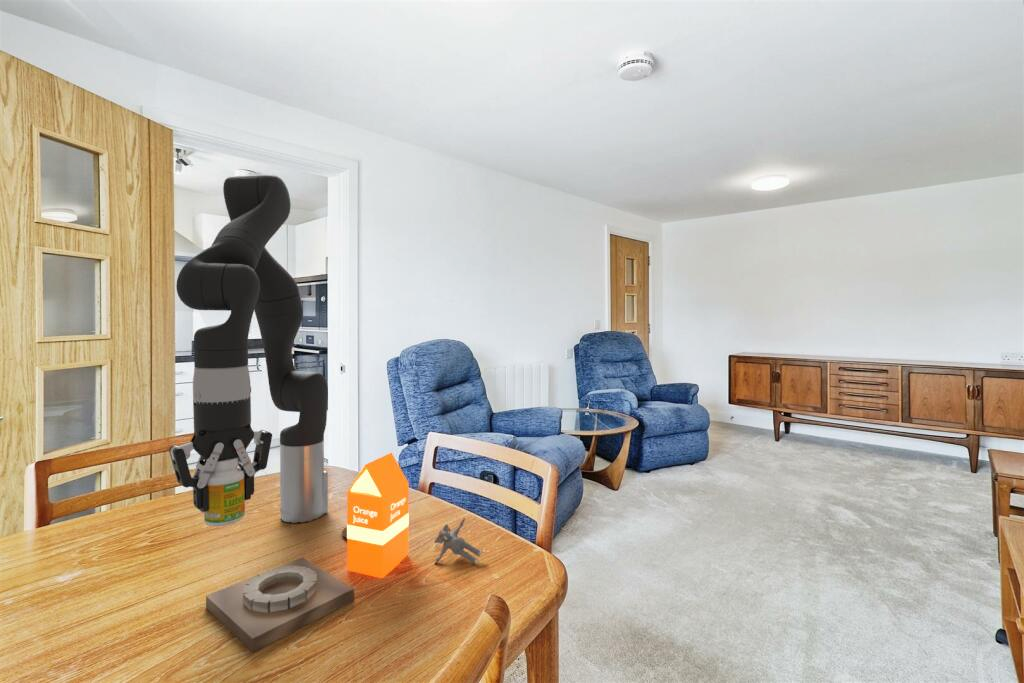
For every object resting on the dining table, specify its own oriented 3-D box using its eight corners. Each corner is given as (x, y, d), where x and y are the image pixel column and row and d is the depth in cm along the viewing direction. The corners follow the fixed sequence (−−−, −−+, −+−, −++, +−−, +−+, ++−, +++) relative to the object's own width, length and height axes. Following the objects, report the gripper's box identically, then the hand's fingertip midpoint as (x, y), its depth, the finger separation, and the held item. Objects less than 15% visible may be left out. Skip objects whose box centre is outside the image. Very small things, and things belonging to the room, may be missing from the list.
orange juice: (409, 555, 95) (409, 454, 94) (382, 578, 86) (383, 467, 85) (374, 548, 97) (375, 449, 96) (346, 570, 89) (345, 462, 88)
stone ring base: (302, 567, 90) (302, 549, 89) (354, 600, 80) (354, 579, 80) (206, 607, 77) (205, 586, 77) (252, 652, 67) (252, 628, 67)
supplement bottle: (225, 529, 72) (224, 465, 72) (195, 525, 73) (194, 461, 73) (253, 514, 77) (251, 454, 77) (224, 510, 79) (223, 451, 78)
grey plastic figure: (462, 579, 87) (422, 552, 90) (465, 588, 92) (426, 562, 95) (492, 530, 93) (453, 506, 96) (493, 541, 97) (455, 518, 100)
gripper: (260, 387, 82) (262, 486, 83) (158, 398, 71) (162, 512, 72) (281, 393, 77) (282, 497, 78) (175, 405, 66) (178, 527, 67)
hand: (224, 503), depth 75 cm, fingers closed on supplement bottle, 5 cm apart
